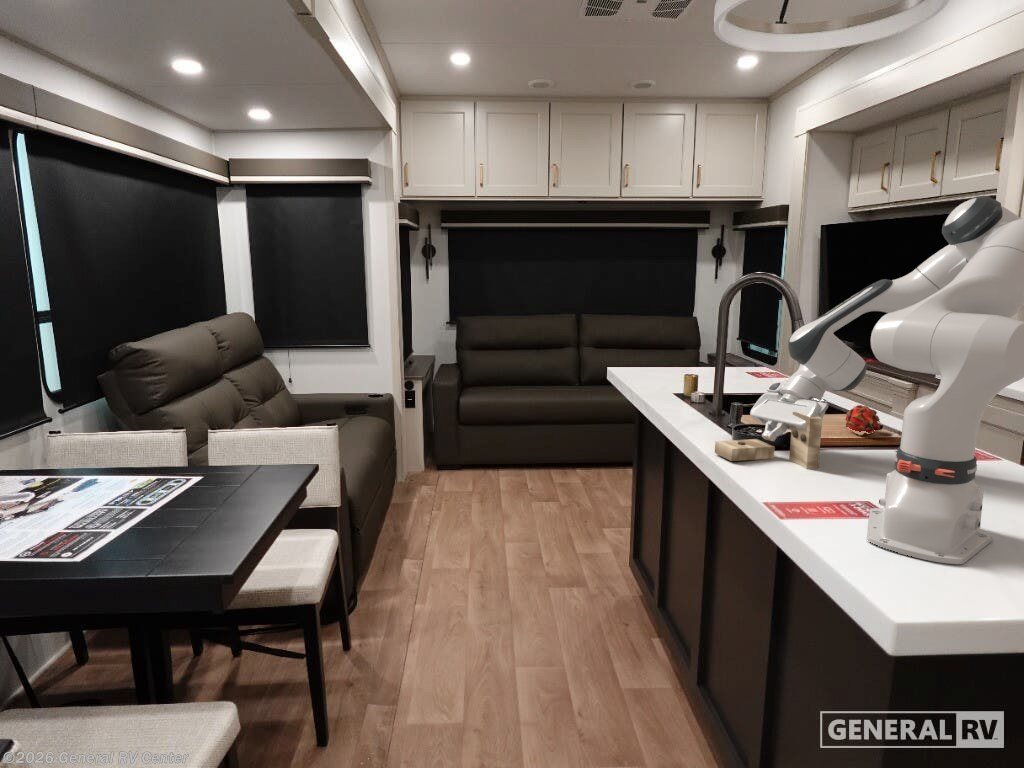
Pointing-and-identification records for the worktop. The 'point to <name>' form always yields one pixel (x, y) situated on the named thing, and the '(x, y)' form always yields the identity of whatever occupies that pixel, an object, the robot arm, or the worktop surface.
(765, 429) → the robot arm
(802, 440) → the tile two
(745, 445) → the tile one
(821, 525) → the worktop surface
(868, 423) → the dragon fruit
